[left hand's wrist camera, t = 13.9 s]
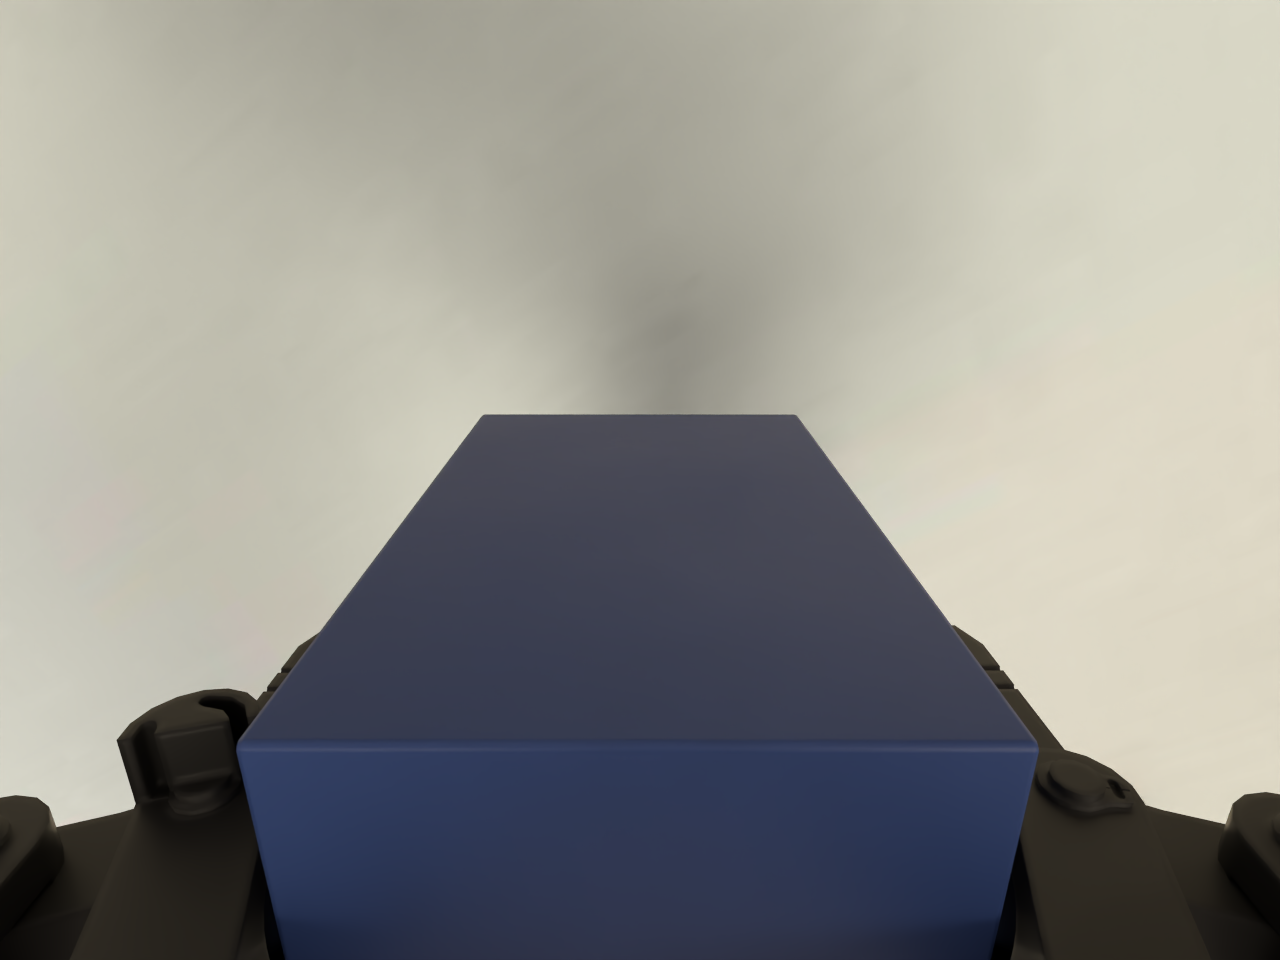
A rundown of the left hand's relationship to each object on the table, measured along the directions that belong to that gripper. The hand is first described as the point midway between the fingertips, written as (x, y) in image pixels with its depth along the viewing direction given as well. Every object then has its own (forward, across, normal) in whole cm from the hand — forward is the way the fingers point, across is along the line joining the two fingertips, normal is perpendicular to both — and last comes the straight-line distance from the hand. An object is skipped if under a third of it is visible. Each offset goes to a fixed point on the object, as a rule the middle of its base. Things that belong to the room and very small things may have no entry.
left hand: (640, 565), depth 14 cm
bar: (+1, 0, -11) cm, 11 cm away
